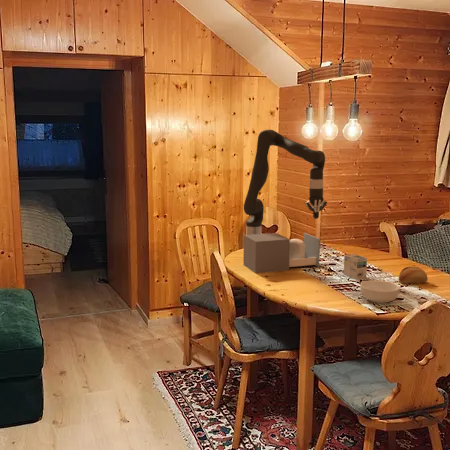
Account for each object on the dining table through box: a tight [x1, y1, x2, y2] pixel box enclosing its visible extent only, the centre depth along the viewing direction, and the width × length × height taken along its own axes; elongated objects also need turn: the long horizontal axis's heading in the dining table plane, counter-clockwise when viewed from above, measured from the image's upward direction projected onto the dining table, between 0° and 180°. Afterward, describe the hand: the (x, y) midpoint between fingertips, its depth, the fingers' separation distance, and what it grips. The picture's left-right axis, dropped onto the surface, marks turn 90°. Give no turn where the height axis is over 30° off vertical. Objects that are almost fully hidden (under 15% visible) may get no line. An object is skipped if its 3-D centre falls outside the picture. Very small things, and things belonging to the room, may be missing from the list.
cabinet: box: [243, 232, 291, 274], centre depth 297 cm, size 18×20×17 cm
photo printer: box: [289, 238, 305, 259], centre depth 303 cm, size 10×4×12 cm, turn 35°
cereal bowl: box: [359, 279, 400, 304], centre depth 243 cm, size 17×17×7 cm
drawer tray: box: [289, 232, 321, 268], centre depth 303 cm, size 18×20×16 cm
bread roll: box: [398, 266, 428, 284], centre depth 270 cm, size 10×15×8 cm, turn 103°
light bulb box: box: [343, 253, 368, 280], centre depth 281 cm, size 11×7×11 cm, turn 27°
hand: (315, 218), depth 302 cm, fingers closed
